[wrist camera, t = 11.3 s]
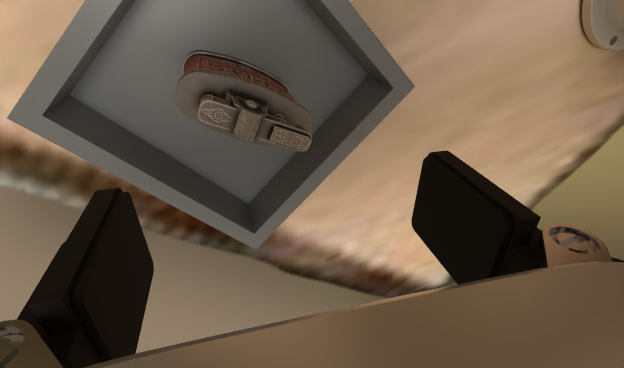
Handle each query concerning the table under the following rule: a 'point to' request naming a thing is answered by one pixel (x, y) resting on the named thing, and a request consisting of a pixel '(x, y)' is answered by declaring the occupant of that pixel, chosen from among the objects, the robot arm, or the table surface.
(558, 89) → the table surface
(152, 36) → the bin
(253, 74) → the lighter
